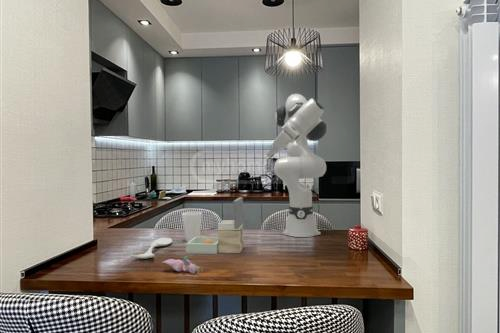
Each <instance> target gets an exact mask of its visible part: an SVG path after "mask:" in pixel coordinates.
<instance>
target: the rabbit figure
mask: <svg viewBox="0 0 500 333" xmlns="http://www.w3.org/2000/svg"><path fill="white" fill-rule="evenodd" d="M188 258H189V256H186V255H185V256H184V257H183V260H181V259H173V258H170V259H166V260H164V261H162V262H161V263H162V264H167V265H168V266H170V267H171V268H173V270H174V271H177V272H179V273H180V272H189V273H190V274H192V275H195V274H196V273H197V274H200V271H201V273H202V272H203V266H202V267H201V266H197V265H196V264H194V263H192V262H191V260H190V259H188ZM185 263H186V264H189V265H185Z"/></svg>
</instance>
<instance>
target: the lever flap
mask: <svg viewBox="0 0 500 333" xmlns="http://www.w3.org/2000/svg"><path fill="white" fill-rule="evenodd" d="M232 204H233V220H232V219H231V220H226V219H225V220H221V222H218V224H217V226H218V227H217V230H218V231H219V230H240V229H241V228H242V227H243V228H244V226H243V225H244V221H245V218H244V215H245V214H244V198H243V196H241V197H237V198H236V199H234V200H233V202H232Z"/></svg>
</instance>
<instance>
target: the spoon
mask: <svg viewBox="0 0 500 333" xmlns="http://www.w3.org/2000/svg"><path fill="white" fill-rule="evenodd" d="M172 242H173V239H172V238H170V237H161V238H160V237H159V238H157V239H155V240H153V241H152V242H151V244H150V245H149V248H148V249H147V251H146V252H144V253H140V254H139V253H138V254H130V258H136V259H149V258H150V259H151V258H154V257H155V254H154V253H153V249H154V248H156V247H166V246H168V245H170V244H171V243H172Z"/></svg>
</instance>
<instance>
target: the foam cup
mask: <svg viewBox="0 0 500 333" xmlns="http://www.w3.org/2000/svg"><path fill="white" fill-rule="evenodd" d="M181 216H182V217H181V218H182V223H183V229H184V235H185V236H184V237H185V240H186V242H189V241H190V240H192V239H193V238H194V237H201V236H200V235H201V225H202V218H203V213H202V212H201V211H187V212H182V214H181Z"/></svg>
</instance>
